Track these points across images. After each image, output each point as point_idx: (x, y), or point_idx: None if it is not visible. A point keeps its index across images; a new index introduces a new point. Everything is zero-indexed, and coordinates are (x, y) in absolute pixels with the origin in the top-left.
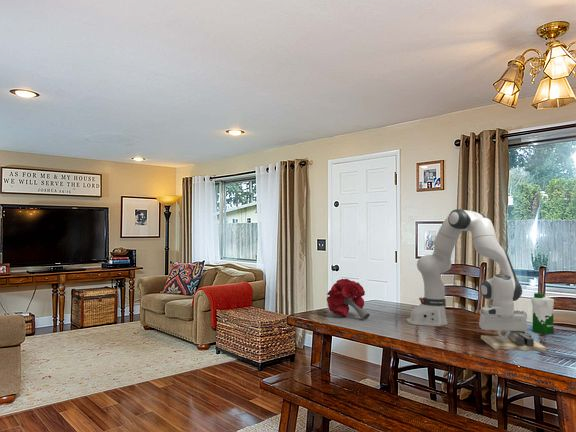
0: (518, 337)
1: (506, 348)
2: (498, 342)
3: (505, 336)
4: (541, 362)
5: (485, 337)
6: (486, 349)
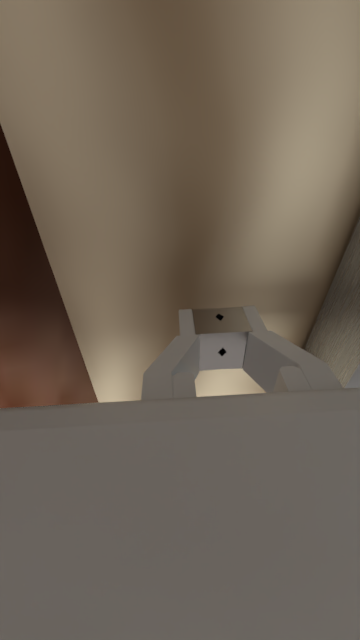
0: None
1: None
2: (157, 329)
3: (242, 364)
4: None
5: (18, 74)
6: (50, 404)
